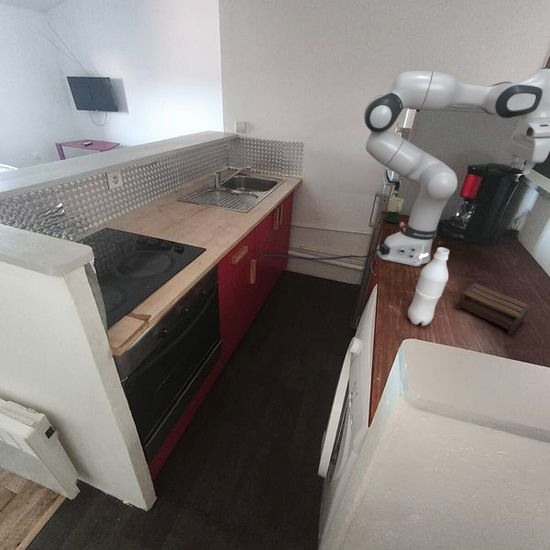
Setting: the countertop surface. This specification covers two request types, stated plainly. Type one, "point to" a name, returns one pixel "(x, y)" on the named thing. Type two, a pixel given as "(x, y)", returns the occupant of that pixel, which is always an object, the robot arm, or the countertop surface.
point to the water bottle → (429, 288)
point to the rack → (493, 306)
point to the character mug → (394, 209)
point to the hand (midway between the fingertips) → (518, 170)
